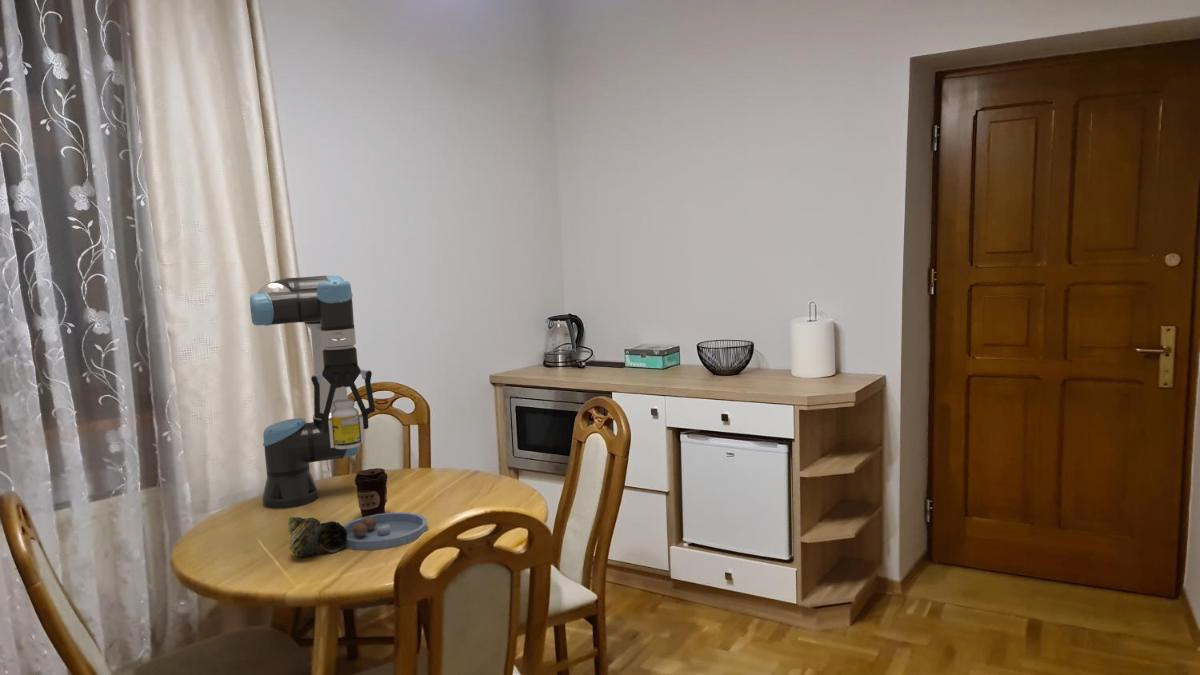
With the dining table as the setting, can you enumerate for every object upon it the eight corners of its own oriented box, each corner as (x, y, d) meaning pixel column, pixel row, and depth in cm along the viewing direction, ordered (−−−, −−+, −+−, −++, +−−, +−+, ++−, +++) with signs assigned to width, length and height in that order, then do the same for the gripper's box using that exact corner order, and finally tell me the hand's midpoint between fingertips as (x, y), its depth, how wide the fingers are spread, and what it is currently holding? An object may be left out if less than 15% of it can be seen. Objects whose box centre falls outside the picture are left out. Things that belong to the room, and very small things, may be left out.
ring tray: (328, 536, 200) (327, 525, 199) (408, 517, 211) (407, 506, 211) (355, 560, 182) (354, 548, 182) (440, 537, 194) (440, 526, 194)
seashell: (328, 566, 179) (324, 523, 178) (282, 565, 182) (278, 522, 181) (351, 549, 190) (347, 508, 189) (307, 548, 192) (303, 507, 191)
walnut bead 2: (360, 530, 200) (359, 516, 200) (373, 527, 202) (372, 513, 202) (364, 533, 198) (363, 520, 197) (378, 530, 200) (377, 517, 199)
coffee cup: (380, 524, 207) (376, 475, 205) (351, 524, 208) (347, 475, 207) (395, 513, 215) (392, 466, 214) (367, 513, 217) (363, 466, 215)
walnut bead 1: (351, 536, 196) (350, 523, 196) (365, 533, 198) (364, 519, 198) (355, 540, 193) (354, 526, 193) (370, 537, 195) (368, 523, 195)
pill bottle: (332, 446, 189) (328, 400, 188) (358, 442, 192) (355, 396, 190) (335, 451, 183) (331, 403, 182) (363, 447, 186) (359, 400, 185)
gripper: (294, 352, 179) (304, 453, 181) (382, 345, 185) (390, 442, 187) (296, 349, 186) (305, 446, 188) (380, 342, 192) (388, 436, 194)
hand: (347, 444), depth 188 cm, fingers closed on pill bottle, 6 cm apart
